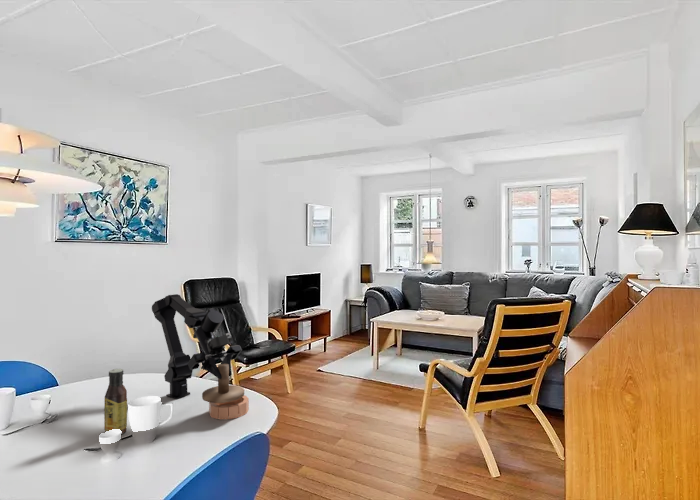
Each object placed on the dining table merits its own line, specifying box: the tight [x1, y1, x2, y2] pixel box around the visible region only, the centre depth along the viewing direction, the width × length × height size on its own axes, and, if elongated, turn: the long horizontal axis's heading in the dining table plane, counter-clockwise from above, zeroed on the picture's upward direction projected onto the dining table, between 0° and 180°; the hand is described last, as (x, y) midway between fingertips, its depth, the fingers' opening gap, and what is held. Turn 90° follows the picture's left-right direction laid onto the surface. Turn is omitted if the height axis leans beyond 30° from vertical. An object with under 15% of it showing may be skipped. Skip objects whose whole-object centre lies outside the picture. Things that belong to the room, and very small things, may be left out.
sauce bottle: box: [103, 368, 128, 435], centre depth 134 cm, size 7×6×20 cm
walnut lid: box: [201, 363, 245, 403], centre depth 148 cm, size 14×14×10 cm
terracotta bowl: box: [208, 394, 250, 420], centre depth 150 cm, size 13×13×4 cm
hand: (225, 377), depth 147 cm, fingers closed on walnut lid, 4 cm apart
